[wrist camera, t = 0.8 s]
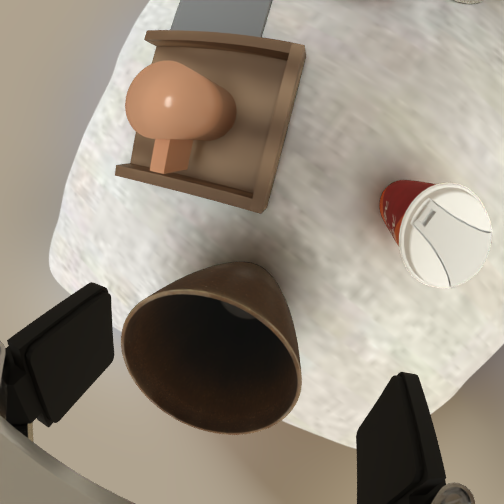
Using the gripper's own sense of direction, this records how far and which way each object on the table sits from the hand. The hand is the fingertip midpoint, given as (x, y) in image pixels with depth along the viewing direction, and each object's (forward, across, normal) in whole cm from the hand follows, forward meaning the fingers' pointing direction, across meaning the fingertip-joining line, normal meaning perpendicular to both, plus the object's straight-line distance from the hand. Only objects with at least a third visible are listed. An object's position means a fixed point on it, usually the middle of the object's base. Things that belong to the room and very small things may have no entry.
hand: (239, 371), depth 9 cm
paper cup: (+26, -11, -4) cm, 28 cm away
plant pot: (+26, +3, +11) cm, 28 cm away
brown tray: (+26, +12, -9) cm, 29 cm away
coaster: (+26, +13, -24) cm, 37 cm away
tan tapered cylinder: (+25, +12, -7) cm, 29 cm away
